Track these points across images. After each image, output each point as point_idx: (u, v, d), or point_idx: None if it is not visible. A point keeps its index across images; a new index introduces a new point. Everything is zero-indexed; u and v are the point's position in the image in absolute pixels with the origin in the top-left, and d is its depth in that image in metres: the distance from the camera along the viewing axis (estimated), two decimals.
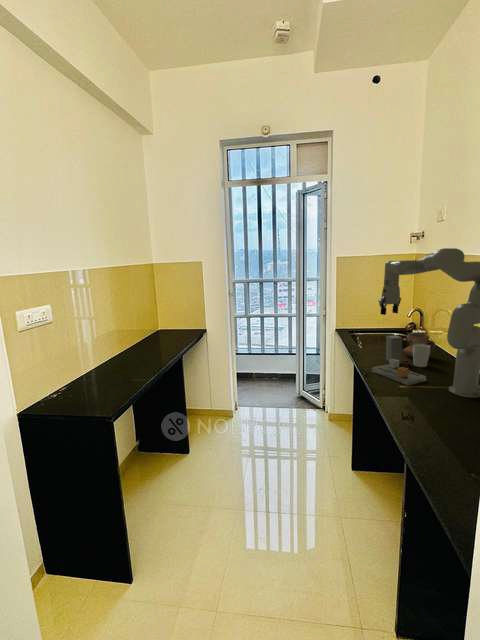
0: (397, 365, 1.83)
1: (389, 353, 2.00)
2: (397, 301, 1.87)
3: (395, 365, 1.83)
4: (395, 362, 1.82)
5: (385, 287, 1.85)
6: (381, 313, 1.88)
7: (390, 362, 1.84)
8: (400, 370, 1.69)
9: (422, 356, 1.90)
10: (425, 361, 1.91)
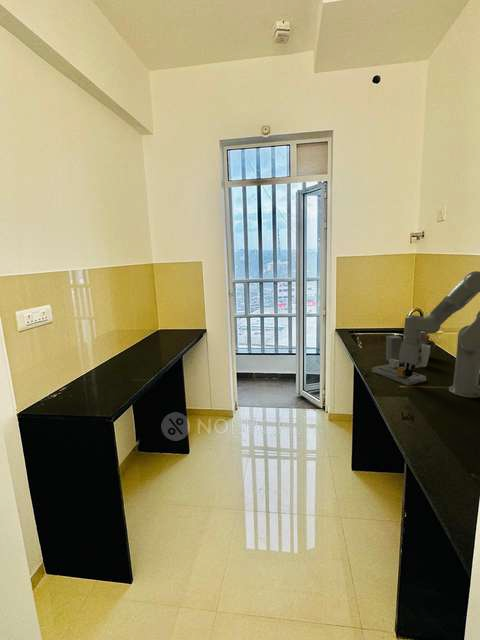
0: (397, 365, 1.83)
1: (389, 353, 2.00)
2: None
3: (395, 365, 1.83)
4: (395, 362, 1.82)
5: (419, 346, 1.60)
6: (408, 376, 1.66)
7: (390, 362, 1.84)
8: (399, 370, 1.70)
9: None
10: (425, 361, 1.91)
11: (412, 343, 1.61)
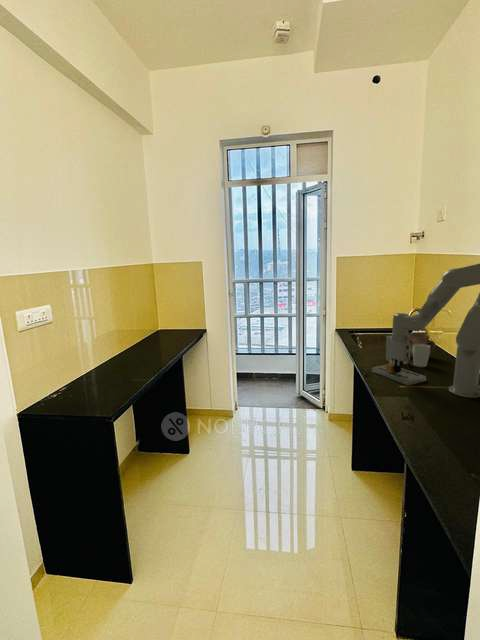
0: None
1: None
2: None
3: None
4: None
5: (407, 343, 1.66)
6: (397, 372, 1.72)
7: (390, 362, 1.84)
8: (388, 366, 1.76)
9: (422, 356, 1.90)
10: (425, 361, 1.91)
11: (400, 340, 1.67)
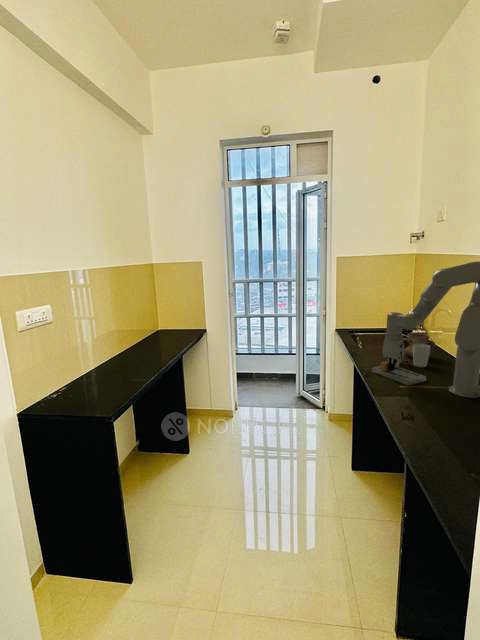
0: (397, 365, 1.83)
1: None
2: None
3: (395, 365, 1.83)
4: None
5: (401, 342, 1.70)
6: (391, 370, 1.76)
7: None
8: (383, 364, 1.79)
9: (422, 356, 1.90)
10: (425, 361, 1.91)
11: (394, 339, 1.70)
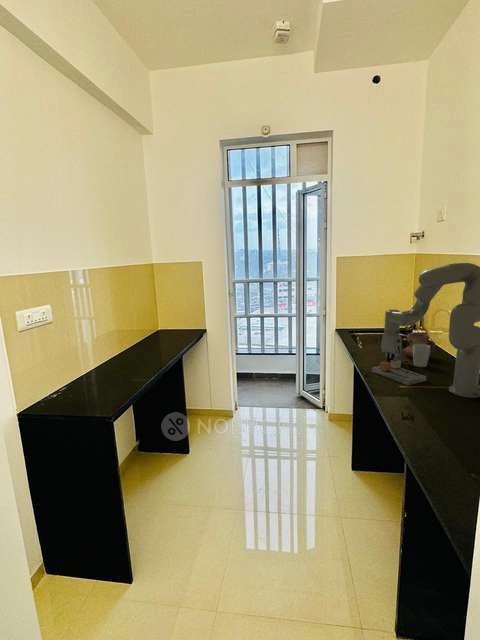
0: (398, 365, 1.83)
1: None
2: None
3: (396, 365, 1.82)
4: (396, 362, 1.82)
5: (398, 337, 1.80)
6: None
7: (391, 362, 1.83)
8: (382, 364, 1.79)
9: (422, 356, 1.90)
10: (425, 361, 1.91)
11: (391, 334, 1.81)
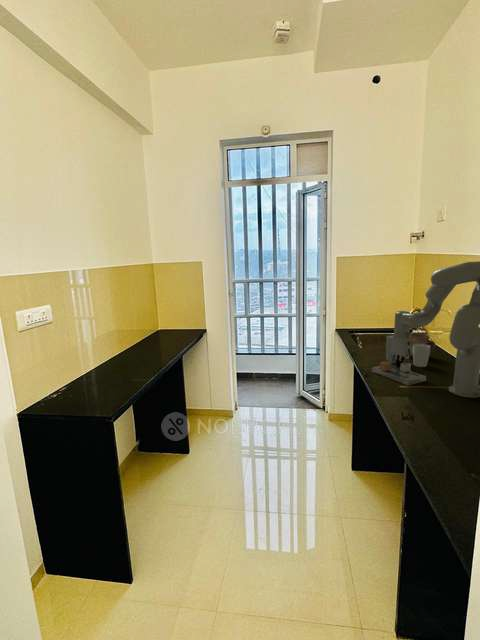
0: (409, 369, 1.77)
1: (389, 353, 2.00)
2: None
3: (407, 369, 1.76)
4: (407, 366, 1.76)
5: (408, 339, 1.75)
6: (399, 367, 1.80)
7: (401, 366, 1.78)
8: (382, 364, 1.79)
9: (422, 356, 1.90)
10: (425, 361, 1.91)
11: (401, 336, 1.75)
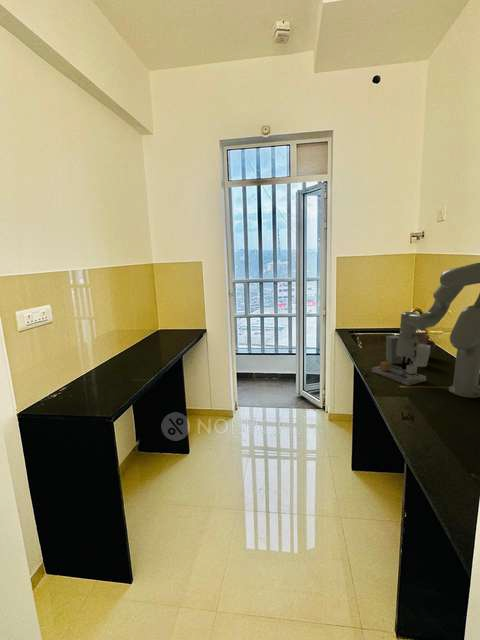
0: (415, 371, 1.74)
1: (389, 353, 2.00)
2: None
3: (413, 371, 1.73)
4: (413, 368, 1.73)
5: (415, 341, 1.72)
6: (405, 368, 1.77)
7: (407, 368, 1.75)
8: (382, 364, 1.79)
9: (422, 356, 1.90)
10: (425, 361, 1.91)
11: (408, 338, 1.72)
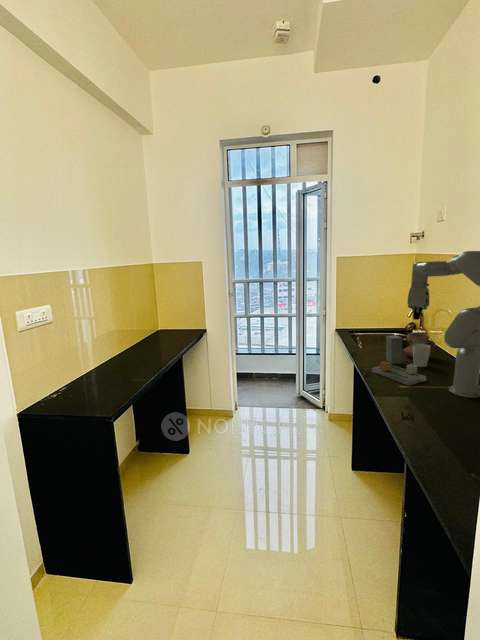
0: (415, 371, 1.74)
1: (389, 353, 2.00)
2: None
3: (413, 371, 1.73)
4: (413, 368, 1.73)
5: (426, 289, 1.74)
6: (416, 318, 1.80)
7: (407, 368, 1.75)
8: (382, 364, 1.79)
9: (422, 356, 1.90)
10: (425, 361, 1.91)
11: (419, 286, 1.75)
